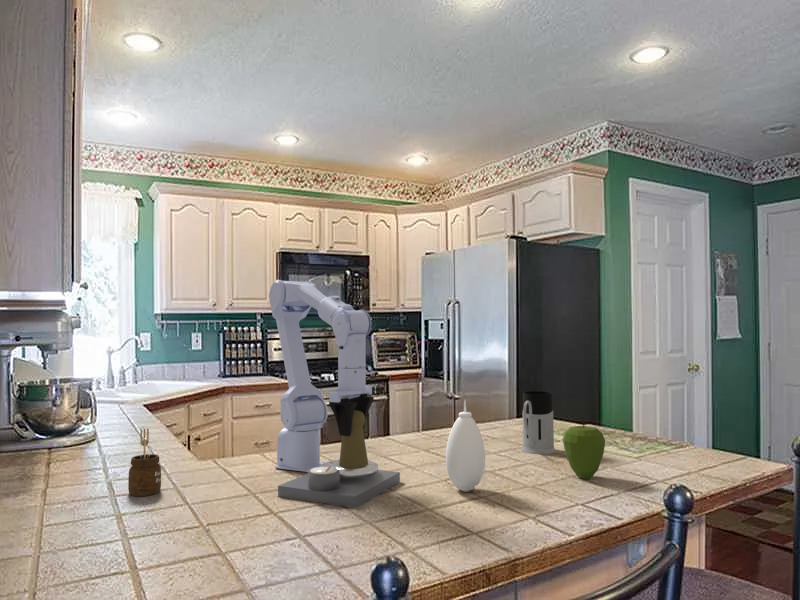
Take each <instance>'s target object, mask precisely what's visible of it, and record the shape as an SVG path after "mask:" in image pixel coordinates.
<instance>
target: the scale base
mask: <svg viewBox="0 0 800 600" xmlns="http://www.w3.org/2000/svg"><path fill="white" fill-rule="evenodd" d="M400 482H401V471H391V470H382V469H378V472H377V473H376V474H373V475H371V476H367V477H361V478H340V470H339V469H337V468H334V467H316V468H313V469H311V470H309V471H308V472H307V473H306V474H303V475H301V476H298V477H296V478H293V479H291V480H289V481H286V482H284V483H281V484H279V485H277V496H278V497H280V498H281V497H282V498H287V499H293V500H294V499H295V500H301V501H308V502H312V503H313V502H314V503H318V504H319V503H322V504H328V505H334V506H340V507H346V508H347V507H348V508H354V509H355V508H358V507H359V506H360V505H362V504H365V503H366V502H367V501H369V500H371V499H373V498H374V497H376V496H377V495H379V494H382V493H384V492H385V491H387V490H389V489H391V488H392V487H394V486H396V485H397V484H399V483H400Z"/></svg>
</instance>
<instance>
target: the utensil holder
mask: <svg viewBox="0 0 800 600" xmlns="http://www.w3.org/2000/svg"><path fill="white" fill-rule="evenodd" d="M149 433H150V432H149V428H147V429H146V428H143V429H142V428H140V435H139V437H140V439H139V442H138V444H139V453H138V454H139V455H135V456H132V457H131V458H130V459H131V460H130V465H131V466H130V467H129V471H128V483H127V484H128V485H127V486H128V494H129V495H130V496H132V497H146V496H147V497H148V496H153V495H156V494H158V493H159V492H161V488H162V466H161V465H160V463H159V462H160V455H158V454H154V453H153V454H152V452H148V453H146V451H147V449H146V447H147V445H149V446H148V447H149V448H150V451H152V448H153V445H152V440H151V439H150V437H149ZM150 441H151V442H150ZM142 446H143V454H141V453H142Z"/></svg>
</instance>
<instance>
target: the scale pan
mask: <svg viewBox="0 0 800 600" xmlns="http://www.w3.org/2000/svg"><path fill="white" fill-rule="evenodd" d="M325 462H326V463H323V464H321V465H320V467H334V468H337V469H339V470H340V478H361V477H367V476H371V475H373V474H376V473H377V472H378V470H379V463H377V462H375V461H372V460H368V465H366V466H364V467H359V468H344V467H340V466H339V462H340V459H337V460H336V459H334V460H330V461H325Z"/></svg>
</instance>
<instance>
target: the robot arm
mask: <svg viewBox="0 0 800 600" xmlns="http://www.w3.org/2000/svg"><path fill="white" fill-rule="evenodd" d="M268 299H269V305H270V311H271V315H272V318H274V319H275V322H276V326H277V331H278V337H279V342H280V348H281V353H282V358H283V359H282V360H283V362H284V369H285V374H286V379H287V385H288V389H287V390H286V392H285V393H284V394H283V395H282V396H281V398H280V400H279V401H280V412H279V413H280V414H279V415H280V416H279V417H280V421H281V422H282V425H283V426H284V427H283V428H282V429H281V430H280V432H279V433H278V435H277V440H276V442H277V443H276V446H277V449H276V457H277V458H276V465H275V466H274V468H275V469H279V470H280V469H281V470H288V471H296V472H305V473H308V471H309V470H311V469H313V468H316V467H320V465H321V464H323V463H326V462H327V461H325V462H323V461H321V428H323V427H324V424H325V423H326V421H327V419H328V416H329V408H330V409H331V411H332V413H333V415H334V417H335V420H336V421H335V422H336V423H337V424H336V425H337V429H338V433H339V436H341V437H342V436H350V434H351V428H352V418H353V414H354V410H355V411H361V412H363V414H364V416H365V423H364V425H363V431H364V430H365V426H366V421H367V418H368V414H369V410H370V409H371V406H372V404H373V402H374V398H375V397H374V396H371V395H372V394H373V385H367V384H366V383H367V381H366V371H367V370H366V366H367V364H366V354H367V353H366V347H367V346H366V345H367V344H366V339H367V338H366V337H367V336H368V335H369V334H370V333H371V330H372V319H371V315H370V314H369V313H368V312H367V310H365V309H359V310H355V309H354V308H353V306H352V305H351V304H348V303H347V304H346V303H345V302H344V301H342V300H341V297H340V296H339V295H331V296H327V295H325V294H323V293H322V292H321V291H320V290H318V288H317V285H316V283H313V282H312V281H296V280H295V281H294V280H292V281H291V280H281V279H275V280H274V281H273V283H272V284H271V287H270V290H269V294H268ZM311 308H313V309H315V310H317V315H318V316H319V318H320V319H321V320H323V321H324V322H325V323H327V324H328V325H330V326H331V328H332V331H333V334H334V337H335V345H336V346H337V347H338V348H337V349H338V350H337V351H338V352H337V354H338V355H337V357H338V358H337V359H338V360H337V364H338V365H337V366H338V367H337V369H338V370H337V372H338V373H337V389H335V390H333V391H330V392H329V401H328V405H329V408H328V405H327V403H326V401H325V399H324V396H323V393H322V391H321V390H320V389H319V388H317V387H316V386H314V385H313V384H312V382H311V377H310V371H309V367H308V362H307V357H306V353H305V352H306V351H305V347H304V342H303V338H302V333H301V327H300V321H302V320H303V319H305V318H306V317H307V315H308V313H309V312H310V311H311Z"/></svg>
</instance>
